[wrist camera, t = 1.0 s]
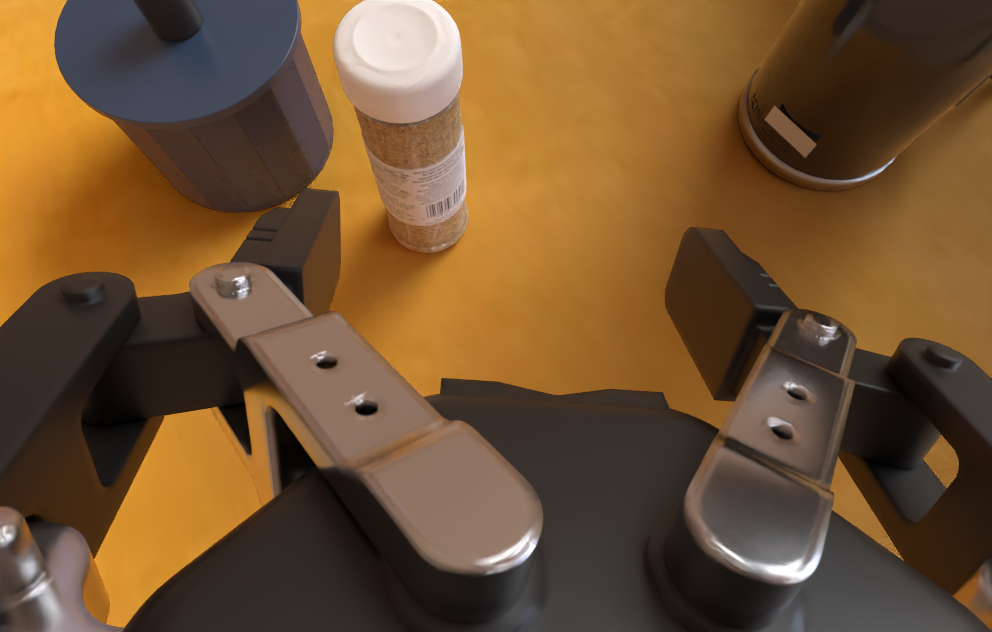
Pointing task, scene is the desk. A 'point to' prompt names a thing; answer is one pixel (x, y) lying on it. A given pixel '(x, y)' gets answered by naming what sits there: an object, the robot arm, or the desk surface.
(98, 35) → the pot lid
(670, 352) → the desk surface
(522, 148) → the desk surface
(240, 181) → the pot
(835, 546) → the robot arm
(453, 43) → the sprinkles bottle
